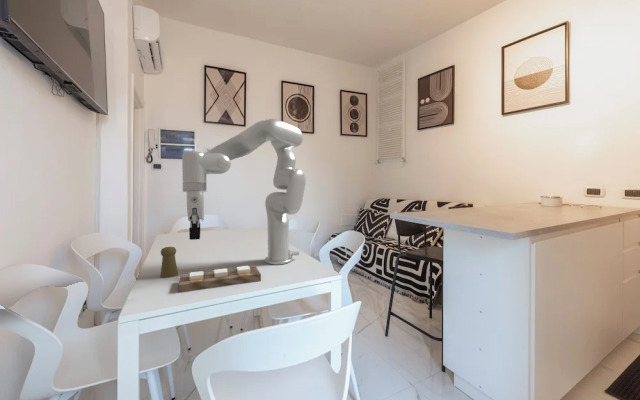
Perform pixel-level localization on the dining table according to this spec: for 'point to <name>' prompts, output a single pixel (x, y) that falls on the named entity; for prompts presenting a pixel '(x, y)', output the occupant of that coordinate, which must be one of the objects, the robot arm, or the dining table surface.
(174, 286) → the dining table surface
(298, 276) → the dining table surface
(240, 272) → the inner button
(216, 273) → the middle button
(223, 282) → the button board
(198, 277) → the outer button
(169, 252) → the cork
